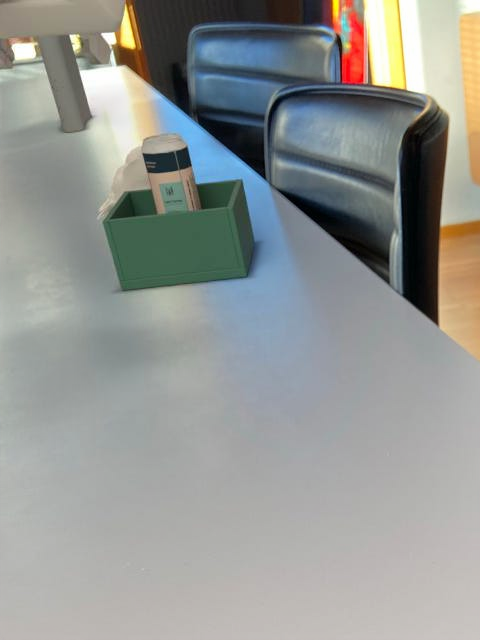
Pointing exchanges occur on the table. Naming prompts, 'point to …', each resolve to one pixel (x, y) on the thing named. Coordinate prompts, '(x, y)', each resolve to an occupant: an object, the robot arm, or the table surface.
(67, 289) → the table surface
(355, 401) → the table surface
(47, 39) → the gray upright slab
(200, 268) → the green storage bin
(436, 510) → the table surface
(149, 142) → the teal-label supplement bottle
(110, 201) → the elephant figurine
